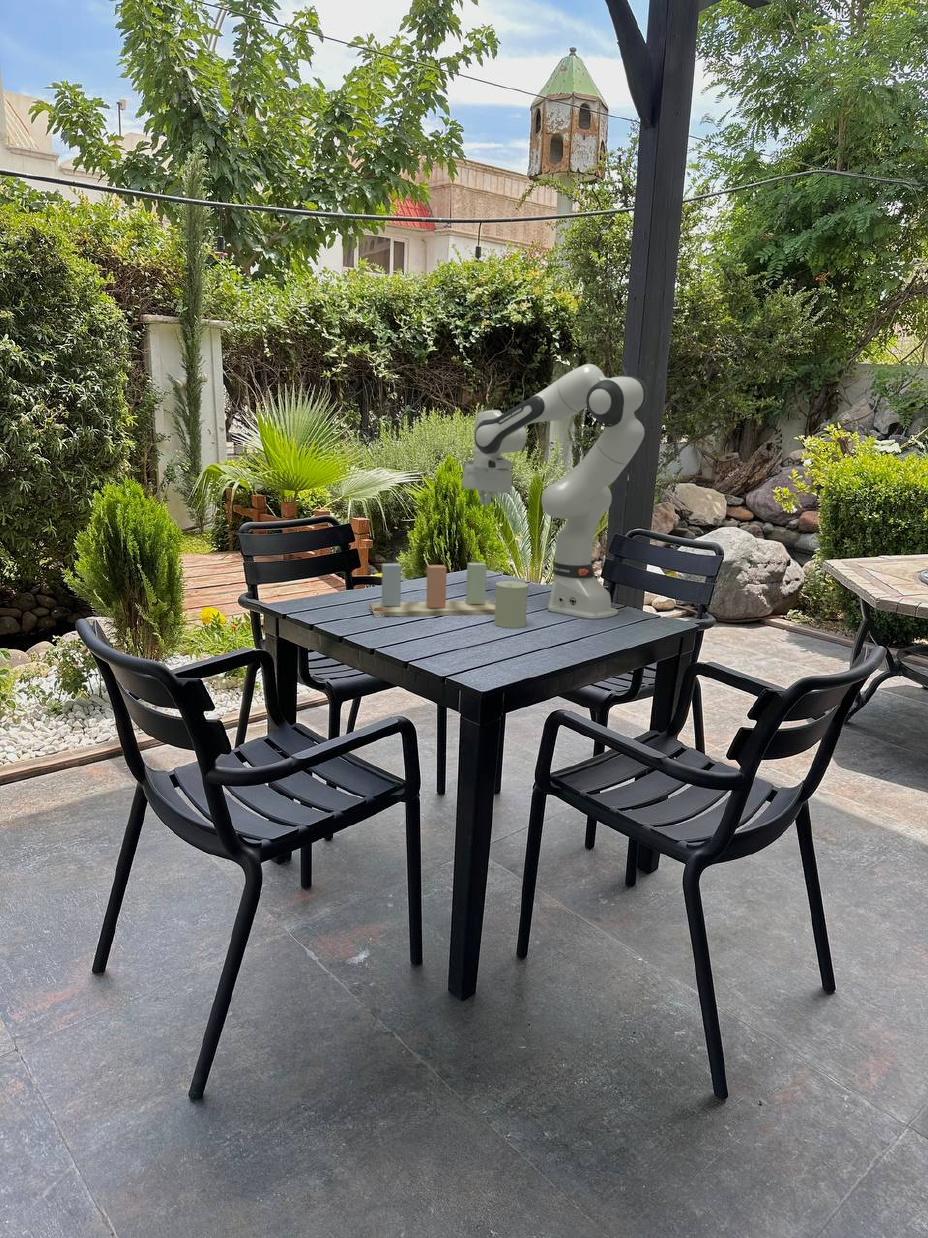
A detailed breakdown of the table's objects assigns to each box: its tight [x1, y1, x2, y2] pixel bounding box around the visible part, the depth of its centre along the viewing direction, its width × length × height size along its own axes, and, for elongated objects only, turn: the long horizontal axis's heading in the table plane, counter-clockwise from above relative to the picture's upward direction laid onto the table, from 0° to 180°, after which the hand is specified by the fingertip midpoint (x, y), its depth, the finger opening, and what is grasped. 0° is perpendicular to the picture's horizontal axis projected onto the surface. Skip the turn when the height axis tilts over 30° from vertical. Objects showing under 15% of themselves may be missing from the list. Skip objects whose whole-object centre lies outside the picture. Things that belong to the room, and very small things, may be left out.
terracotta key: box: [426, 564, 447, 608], centre depth 234 cm, size 5×4×12 cm
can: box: [493, 580, 529, 629], centre depth 224 cm, size 9×9×12 cm
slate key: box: [381, 562, 402, 606], centre depth 235 cm, size 5×4×12 cm
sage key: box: [465, 562, 488, 604], centre depth 241 cm, size 5×4×12 cm
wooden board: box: [369, 599, 496, 617], centre depth 237 cm, size 38×12×2 cm, turn 103°
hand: (485, 504), depth 258 cm, fingers closed
